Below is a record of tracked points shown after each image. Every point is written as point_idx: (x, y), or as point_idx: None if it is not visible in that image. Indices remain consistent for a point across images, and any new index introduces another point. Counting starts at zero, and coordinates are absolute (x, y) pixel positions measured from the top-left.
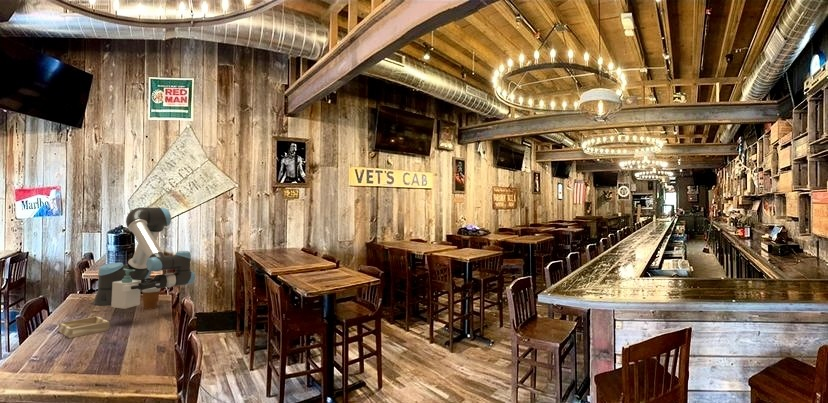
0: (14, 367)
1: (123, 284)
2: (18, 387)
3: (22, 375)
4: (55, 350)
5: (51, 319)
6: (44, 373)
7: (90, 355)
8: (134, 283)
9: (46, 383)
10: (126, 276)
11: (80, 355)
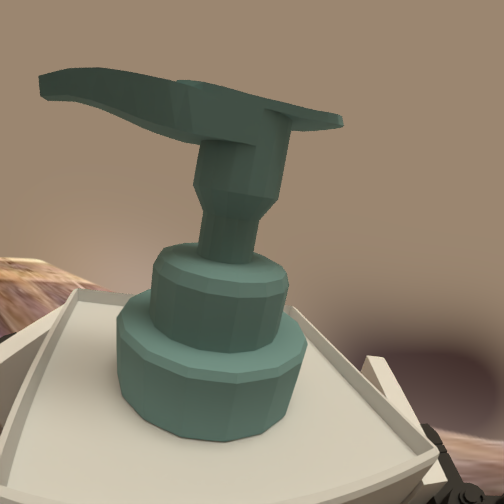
0: (99, 290)
1: (115, 306)
2: (37, 263)
3: (60, 278)
4: None
5: (455, 436)
6: (35, 280)
7: (9, 316)
8: (38, 386)
9: (12, 266)
10: (186, 244)
11: (28, 316)
